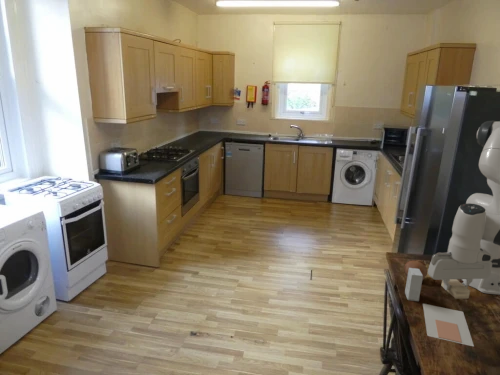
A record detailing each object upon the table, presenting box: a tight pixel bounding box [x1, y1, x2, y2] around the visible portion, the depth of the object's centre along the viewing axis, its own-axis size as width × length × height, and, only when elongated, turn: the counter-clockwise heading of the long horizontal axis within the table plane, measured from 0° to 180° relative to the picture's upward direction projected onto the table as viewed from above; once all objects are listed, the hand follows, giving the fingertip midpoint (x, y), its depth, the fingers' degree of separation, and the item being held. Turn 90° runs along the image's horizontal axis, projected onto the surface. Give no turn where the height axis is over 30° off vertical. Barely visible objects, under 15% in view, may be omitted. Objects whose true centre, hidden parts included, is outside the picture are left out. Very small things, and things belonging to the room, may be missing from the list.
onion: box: [403, 259, 428, 282], centre depth 157 cm, size 10×9×10 cm
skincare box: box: [404, 268, 423, 302], centre depth 143 cm, size 6×4×12 cm
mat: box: [422, 303, 475, 347], centre depth 128 cm, size 14×20×1 cm
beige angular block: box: [441, 279, 471, 300], centre depth 121 cm, size 8×4×3 cm, turn 5°
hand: (455, 289), depth 121 cm, fingers closed on beige angular block, 4 cm apart
